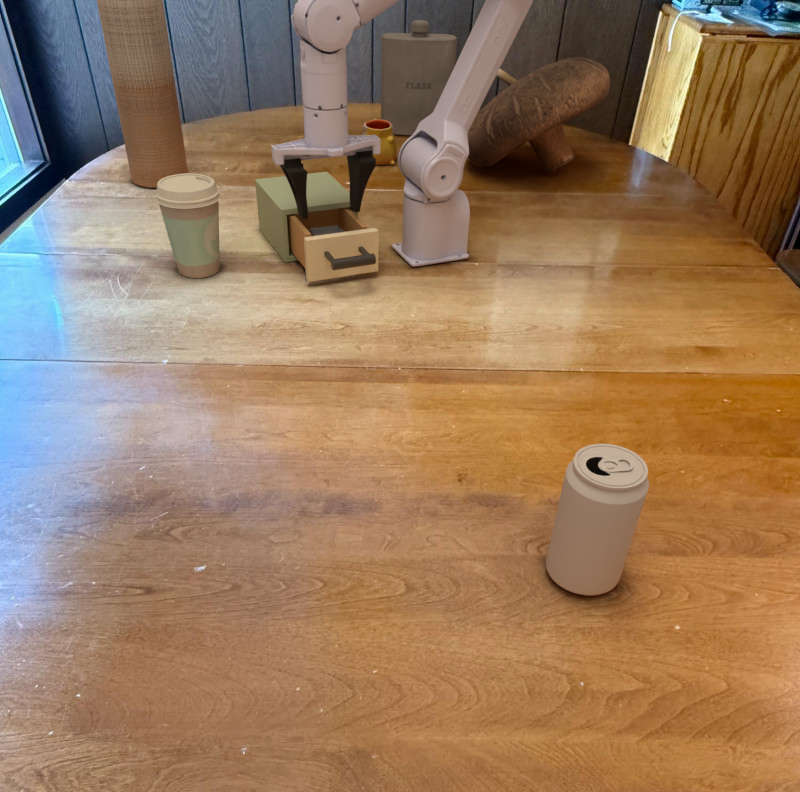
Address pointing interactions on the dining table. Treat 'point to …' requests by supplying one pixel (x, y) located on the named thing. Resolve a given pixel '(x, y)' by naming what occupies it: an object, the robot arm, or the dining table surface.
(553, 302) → the dining table surface
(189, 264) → the coffee cup
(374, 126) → the mug
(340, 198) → the cabinet
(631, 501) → the beverage can
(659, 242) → the dining table surface
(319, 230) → the open box
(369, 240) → the drawer
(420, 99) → the flask
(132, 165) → the vase
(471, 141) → the brown fungus
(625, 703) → the dining table surface
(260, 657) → the dining table surface
